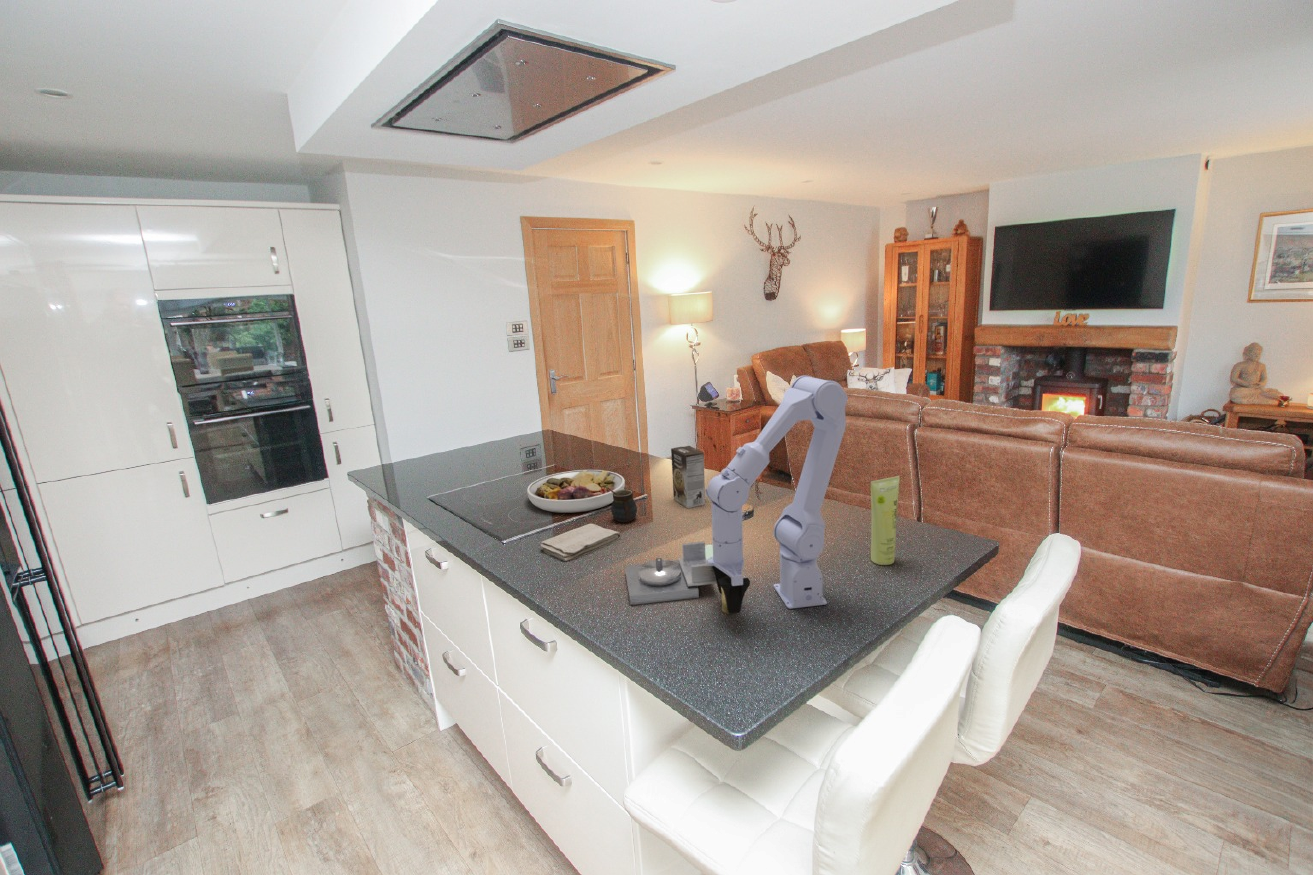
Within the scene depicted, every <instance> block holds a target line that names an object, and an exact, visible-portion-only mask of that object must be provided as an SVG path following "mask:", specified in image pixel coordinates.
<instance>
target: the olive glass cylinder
mask: <svg viewBox="0 0 1313 875" xmlns="http://www.w3.org/2000/svg"><path fill="white" fill-rule="evenodd" d="M724 578H729V576H725V577H722V578H721V579H724ZM720 595H721V612H723V613H724V614H727V615H733V614H734V613H731V614H730V613H729V612H728V609H727V605H726V599H725V594H724V591H723V589H722V587H721V594H720Z"/></svg>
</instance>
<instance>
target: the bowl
mask: <svg viewBox="0 0 1313 875" xmlns="http://www.w3.org/2000/svg"><path fill="white" fill-rule="evenodd" d="M625 482H626V480H625V478H624V476H622V475H621V474H619V473H617V472H613V471H609V470H603V469H578V470H570V471H563V472H557V473H553V474H548V475H546V476H543V477H540V478H538V479H536V480H534V481H532V482H531V483H530V484H529V485H528V487H527V489H526V490H527V491H526V494H527V497H528V499H529V501H530V502H531V503H532V505H534V506H535V507H537V508H538V509H541V510H543V511H547V512H551V513H560V514H561V513H564V514H568V513H569V514H570V513H571V514H572V513H583V512H589V511H594V510H596V509H597V510H598V509H600V508H603V507H606V506H609V505H610V504H611V505H612V502H613V493H612V492H611V491H610V490H609V489H608V488H610V489H611V490H612V491H614V492H615V491H618V490H625V487H626V483H625Z"/></svg>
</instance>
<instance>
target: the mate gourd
mask: <svg viewBox="0 0 1313 875" xmlns="http://www.w3.org/2000/svg"><path fill="white" fill-rule="evenodd" d="M608 489H609V490H610V491H611V492H612V493H613V502H612V503H611V508H610V510H611V511H610V512H611V515H612V518H613V519H614V520H615V521H617V522H618V523H630V522H632V521H633V520H634V519H635V518H636V517H637V512H638V507H637V503H636V501H635V499H634V494H633V492H634V491H632V490H630V489H624V490H618V491H615V492H614V491H612V490H611V489H610V488H608Z"/></svg>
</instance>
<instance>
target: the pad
mask: <svg viewBox="0 0 1313 875" xmlns="http://www.w3.org/2000/svg"><path fill="white" fill-rule="evenodd" d="M705 556H706V560H707V559H709V558H712V557H713V543H712V544H705Z"/></svg>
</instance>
